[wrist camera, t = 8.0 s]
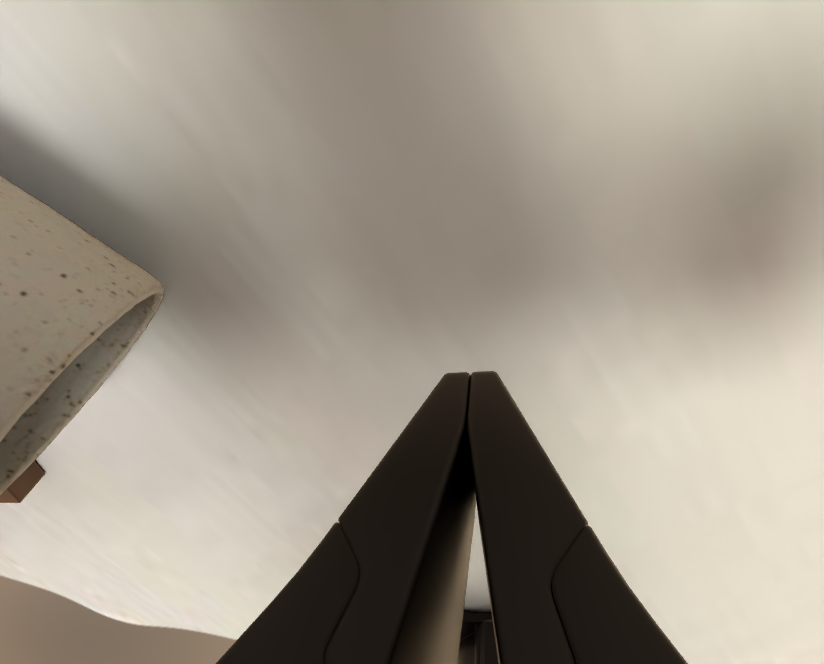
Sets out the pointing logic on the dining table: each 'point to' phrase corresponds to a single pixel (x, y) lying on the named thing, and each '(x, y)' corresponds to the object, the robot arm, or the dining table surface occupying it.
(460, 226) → the dining table surface
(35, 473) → the walnut board
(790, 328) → the dining table surface
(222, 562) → the dining table surface
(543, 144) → the dining table surface
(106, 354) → the ceramic mug
